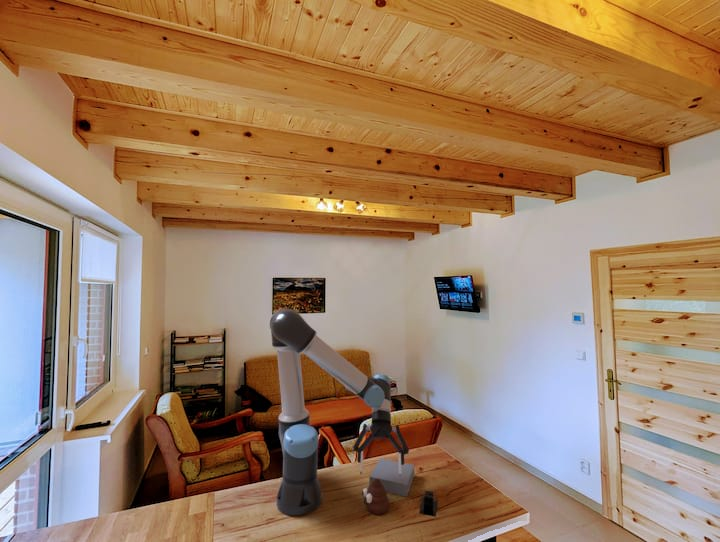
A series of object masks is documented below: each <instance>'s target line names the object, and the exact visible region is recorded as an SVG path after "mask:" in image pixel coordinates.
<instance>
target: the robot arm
mask: <svg viewBox="0 0 720 542" xmlns="http://www.w3.org/2000/svg"><path fill="white" fill-rule="evenodd" d="M269 329H270V333H271V343H272V348H274V349H275V350H276V355H277V365H278V366H277V367H278V378H279V390H280V401H281V412H280V414H279V415H278V424H279V425H278V437H279V440H280V445H281V451H282V457H283V459H282V480H281V483H280V484H279V487H278V491H277V494H276V507H277V509H278V510H279V512H281V513H282V514H285V515H288V516H295V517H297V516H305V515H307V514H309V513H312V512H314V511H315V510H317V509H318V507H320V505H321V503H322V497H323V496H322V494H323V493H322V489H321V485H320V482H319V478H318V456H319V455H318V453H319V449H318V448H319V436H318V432H317V430H316V428H315V427H314V426H311V419H310V411H309V410H308V409H307V408H305V397H304V394H305V393H304V385H303V383H304V381H303V373H302V361H301V360H302V359H301V354H304V355H305V356H306V357H308V359H310V360H312V361H313V362H314V363H315V364H316V365H317V366H319V367H320V368H321V369H323V370H324V371H326V373H328V374H329V375H330V376H332V377H333V378H334V379H336V380H337V382H339V383H341V384H342V385H343V386H344V387H345V389H346V390H347V391H350V392H352V393H353V394H355V395H356V396H357V397H358V398H359V399H360V400H362V401H363V402H364V403H365V405H367V406H368V407H370V408H371V412H372V413H371V424H370V425H368V424H366V423H364V424H363V425H362V430H361V432H360V434H359V436H358V437H357V439H356V441H355V443H354V445H353V446H352V447H353V451H354V452H357V463H359V464H360V465H359V469H360V470H359V474H360V475H363V472H364V471H363V469H364V468H363V467H364V450H365V449H366V448H367V447H368V446H369V444H370V443H371V442H372V441H373V440H374V439H375V438H376V439H377V440H380V439H381V440H386V439H387V440H388V441H389V442H390V444H392V446H393V447H394V448H395V449H396V451H397V452H398V458H397V459H398V462H399V476H401V465H404V463H405V455H408V454H409V452H410V449H409V447H408V445H407V443H406V441H405V439H404V437H403V435H402V433H401V431H400V430H401V429H400V426H399V425H398V424H397V425H396V426H392V424H391V423H392V415H391V413H392V409H391V407H392V405H391V404H392V403H391V402H392V401H391V397H392V396H391V395H392V394H391V389H392V386H391V384H392V383H391V379H390V377H389V375H386V374H383V373H382V374H381V373H379V374H376V375H374V376H372V377H371V376H369V375H365V374H364V373H363V372H362V371H361V370H360V369H358V368H357V367H356V366H355V365H353V364H352V363H351V362H349V360H347V359H346V358H345V357H343V356H342V355H341V354H339V352H337V351H336V350H335V349H334V348H332V347H331V346H330V345H328V343H327V342H325V341H324V340H322V338H320V337H319V336H318V335H317V330H315V329H313V328H312V327H311V326H310V325H309V324H308V323H307V321H306V320H305V319H304V317H302V316H301V314H300V313H298V312H297V311H295V310H294V309H292V308H280V309H278V310H277V311H276V312H274V313H273V314H272V316H271V317H270V320H269ZM369 430H370V432H371V433H370V434H369V436H368V437H367V438H366V439H365V438H364V437H365V436H366V433H367V432H369ZM392 432H393V433H395V434H396V437H397V438H398V441H396V439H395V438H394V436H393V435H392ZM363 439H365V440H364V441H363ZM362 441H363V442H362ZM399 442H400V444H401V445H400V444H399Z"/></svg>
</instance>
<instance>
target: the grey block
mask: <svg viewBox="0 0 720 542" xmlns="http://www.w3.org/2000/svg"><path fill="white" fill-rule="evenodd" d="M414 478H415V464H411V463H405V462H404V465H401V476H399V461H395V460H390V459H386V458H382V457H381V458H380V457H379V459H378V461H377V463H376V464H375V466H374V467H373V469H372V472H371V473H370V475H369V479H368V480H369V481H368V483H369V485H370V484H371V483H372V481H373V480H374V479H379V480H380V482H381V483H382V485H383V486H384V488H385V490H386V493H391V494H394V495H399V496H403V497H408V495H409V492H410V488H411V486H412V483H413V480H414Z"/></svg>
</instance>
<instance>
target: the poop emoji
mask: <svg viewBox="0 0 720 542" xmlns="http://www.w3.org/2000/svg"><path fill="white" fill-rule="evenodd" d="M362 496H363V504H364V505H365V507H366V509H367V511H368V512H370V513H371V514H373V515H383V514H385V513H386V512H388V510H389V508H390V500H389V496H388V492H386V490H385V488H384V486H383V485H382V483H381V482H380V480H379V479H374V480H373V481H372V483H371V484H370V485H369V486H368V487H365V488H363V490H362Z"/></svg>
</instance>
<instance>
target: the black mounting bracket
mask: <svg viewBox="0 0 720 542" xmlns="http://www.w3.org/2000/svg"><path fill="white" fill-rule="evenodd" d="M434 494H435V493H434V491H430V490H424V495H423V496H421V501H420V505H419V510H418V511H419V512H418V514H420V515H424V516H429V517H434V518H436V517H437V512H438V503H439V499H438V498H437V499H436V498H435V497H434V496H435V495H434Z"/></svg>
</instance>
